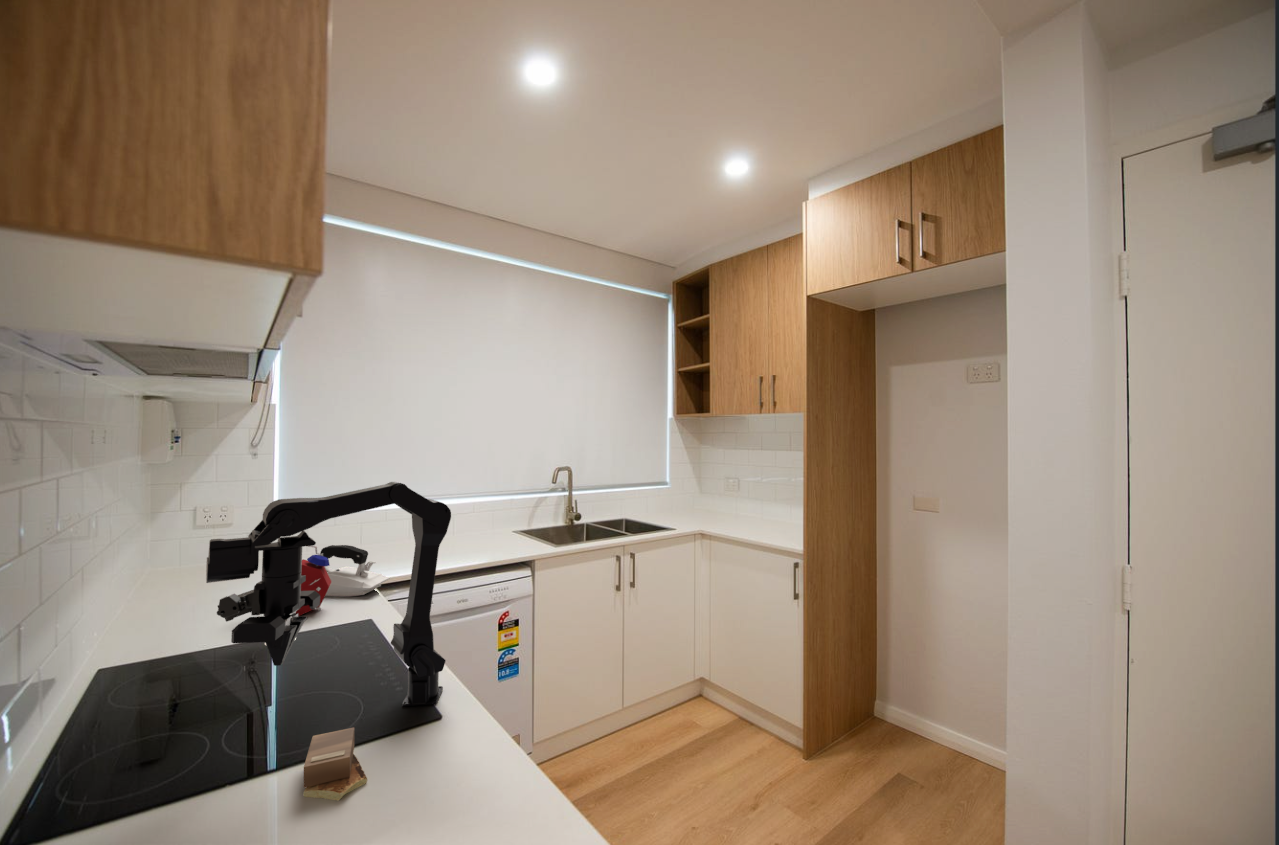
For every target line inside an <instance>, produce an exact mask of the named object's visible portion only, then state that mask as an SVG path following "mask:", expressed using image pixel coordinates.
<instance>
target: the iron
mask: <svg viewBox="0 0 1279 845" xmlns="http://www.w3.org/2000/svg"><path fill="white" fill-rule="evenodd" d="M322 553H323V556H324V557H326V558H328V560H329V559H331V558H333V557H335V558H338V559H351V560H352V561H353V563H354V564H357V565H358V567H355V566H354V567H353V566H352V567H351V566H341V567H339V568H338V567H337V568H336V569H333V568H331V567H330V566H324V567H325V569H326V571H327V573H328V575H329V577H330V579H331V584H330V586H329V588H328V591H327V593H326V595H325V597H357V596H364V595H365V594H367V593H370V592H372V591H374V590H375V589H377V588H379V587H382V584H383V583H385V582H387V581H389V580H390V579H391V577H390V576H386V575H384V574H382V573H377V572H374V571H371V567H372V566H373V564H377V562H376V561H368V562H367V560H368V555H369V552H368V551H367V550H365V549H363V548H359V547H356V546H353V545H349V544H338V545H333V544H332V545H328V546H325V547H323V548H322V549H321V551H320V553H319V554H322ZM366 562H367V563H366Z"/></svg>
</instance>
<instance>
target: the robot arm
mask: <svg viewBox="0 0 1279 845" xmlns="http://www.w3.org/2000/svg"><path fill="white" fill-rule="evenodd" d="M393 504H394V505H396V506H397V507H399V508H401V509H402V510H403V511H405V512H407V513H408V514H410V515H411V528H412V533H413V538H414V539H413V540H414V542H415V544H414V545H415V546H414V553H413V554H414V555H413V561H412V568H411V574H410V575H411V576H410V582H409V590H408V599H407V605H406V612H405V616H404V618H403V619H402V621H401V623H393V627H392V628H393V636H392V639H391V640H390V645H392V647H393V651H394V653H395V654H396V655H397V656H398V657H399V658H400V660H401V661H402V662H403V663H404V664H405V665H406V666H407V667H408V668H407V694H406V696H405V698H404V700H403V701H402V703H401V704H402V705H401V706H402V707H412V706H425V705H426V706H427V705H436V704H437V703H438V702H439V700H440V697H441V694H442V692H443V689H444V688H443V686H441V685H439V675H440V674H439V672H442V671H444V670H443V669H444V667H445V664H446V659H445V658H444V657H443V656H442V655H441V654H440V653H438V652H437V651H436V650H435V647H434V633H433V632H434V631H433V628H432V622H431V611H432V602H433V596H434V595H433V594H434V587H435V581H436V572H437V564H438V558H439V548H440V546H441V544H442V542H443V541H444V538H445V536H446V535H447V533H448V529H449V526H450V522H451V519H452V512H451V508H449V506H448V505H447V504H445V503H443V502H441V501H438V500H434V499H430V498H426V497H425V496H423V495H421V494H419V493H418V492H416V491H414V490H413V489H411V488H409V487H408V486H407V485H406V484H404V483H401V482H399V481H389V482H387V483H385V484H381V485H375V486H370V487H367V488H366V487H365V488H362V489H357V490H353V491H348V492H343V493H338V494H337V493H336V494H333V495H328V496H325V497H324V496H323V497H297V498H281V499H277V500H273V501H272V502H270V503H269V504H268V505H267V506H266V507H265V508H264V510H263V512H262V519H261V521H259V523H258V524H257V525H256V526H255V527H254V529H253V530H251V532H250V533H249V534H248V535H247V536H248V537H237V538H227V539H226V538H213V539H210V540H209V543H208V544H209V546H208V556H207V557H206V570H205V572H206V575H205V579H206V580H205V581H206V584H211V583H218V582H225V581H234V580H240V579H241V580H242V579H249V578H250V577H251V575H253V574H255V572H257V571H258V569H259V561H260V560H259V555H260V554H259V553H260V551H262V561H261V562H262V564H261V580H260V581H258V582H257V583H256V584H254V586H253V589H251V590H249V591H246V592H243V593H240V594H236V593H232V594H230V595H227V596H224V597H222V598H221V599H219V602H218V605H217V611H216V615H218V616H220V617H221V618H223V619H225V622H226V623H227V622H230V621H233V620H234V619H235V618H237V617H240V616H243V615H246V614H249V613H251V615H250V616H249V617H248V618H246V619H245V620H243V621H242V622H240V623H238V624H236V626H235V627H234V628H232V630H231V643H232V644H248V643H249V644H251V643H252V644H254V643H264V644H265V643H266V645H265V646H266V647H267V649H268V652H269V654H270V658H271V662H272V664H273V666H276V667H277V666H281V665H283V663H284V662H285V660H286V658H287V656H288V654H289V652H290V650H291V648H292V646H293V644H294V642H295V641H296V640H295V638H296V639H297V636H298V634H299V632H300V631H301V629H302V626H303V625H304V622H306V620H307V618H308V617H307V616H304V615H300V616H298V613H296V611H297V610H298V609H300V608H301V607H302V606H307V605H309V607H310V609H313V610H316V608H317V607H318V606H319V605H320V594H318V593H317V592H316V591H301V584H302V583H303V582H305V581H306V575H301V569H302V560H303V547H308V546H316V544H317V542H316V541H315V540H314V539H313V538H312V537H310V536H309V534H308V533H307V532H306V530H308V529H311V528H313V527H315V526H317V525H319V524H320V523H323V522H325V521H327V520H331V519H335V518H338V517H342V516H347V515H352V514H355V513H360V512H364V511H368V510H372V509H373V510H374V509H377V508H382V507H385V506H390V505H393ZM296 534H298V535H296ZM276 540H277V542H275V541H276ZM320 606H321V605H320ZM260 615H263V616H260Z"/></svg>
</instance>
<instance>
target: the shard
mask: <svg viewBox="0 0 1279 845" xmlns="http://www.w3.org/2000/svg"><path fill="white" fill-rule="evenodd" d="M367 782H368V777H367V776H366V774H365V771H364V770H363V768H362V765H361V764H360V761H359V759H358V758H357V757H356V755H355V754H354V753H353V759H352V765H351V772H350V777H347V778H343V779H338V780H334V781H330V782H326V783H322V784H317V785H313V786H309V787H305V789H304V790H303V797H304V798H313V799H314V798H315V799H316V798H317V799H319V798H320V799H325V800H332V801H333V800H334V801H340V800H341V799H342V798H343V797H344V796H345V795H347V794H348V793H349V792H352V791H353V790H355V789H357V788H359V787H361V786H364V785H366V784H367Z"/></svg>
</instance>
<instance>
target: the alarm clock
mask: <svg viewBox="0 0 1279 845" xmlns="http://www.w3.org/2000/svg"><path fill="white" fill-rule="evenodd" d="M307 547H309V548H313V549H314V550H315V554H312V555H311V556H309V557H308V558H306V559H303V558H302V569H301V575H306V581H305V582H303V583H302V584H301V591H316V592H317V593H318V594H320V605H319V606H318V607H317V608H315V610H316V609H317V610H318V611H319V612H320V611H322V608H321V606H322V603H323V601H324V600H325V597H326V596H325V595H326V593H327V591H328V588H329V586H330V584H331V579H330V577H329V575H328V572H327V571H326V569H325V567H324V566H328V567H330V566H331V565H330V560H329V559H328V558H326V557H324V556H323V553H322V554H320V553H319V552H318V547H317V546H316V545H313V546H307ZM313 610H314V609H310V607H309V605H307V606H302V607H301V608H300V609H298V610H297V611H296V613H298V617H301V616H303V615H304V614H306V613H309V612H310V611H311V612H312V611H313Z"/></svg>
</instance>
